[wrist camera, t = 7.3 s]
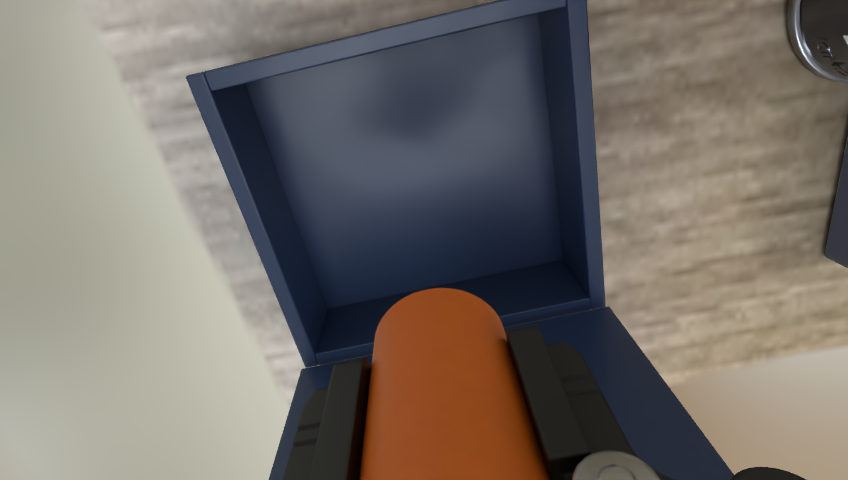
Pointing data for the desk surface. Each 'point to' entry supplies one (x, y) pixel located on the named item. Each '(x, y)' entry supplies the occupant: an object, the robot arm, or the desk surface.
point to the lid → (617, 379)
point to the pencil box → (418, 169)
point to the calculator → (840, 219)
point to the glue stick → (446, 395)
